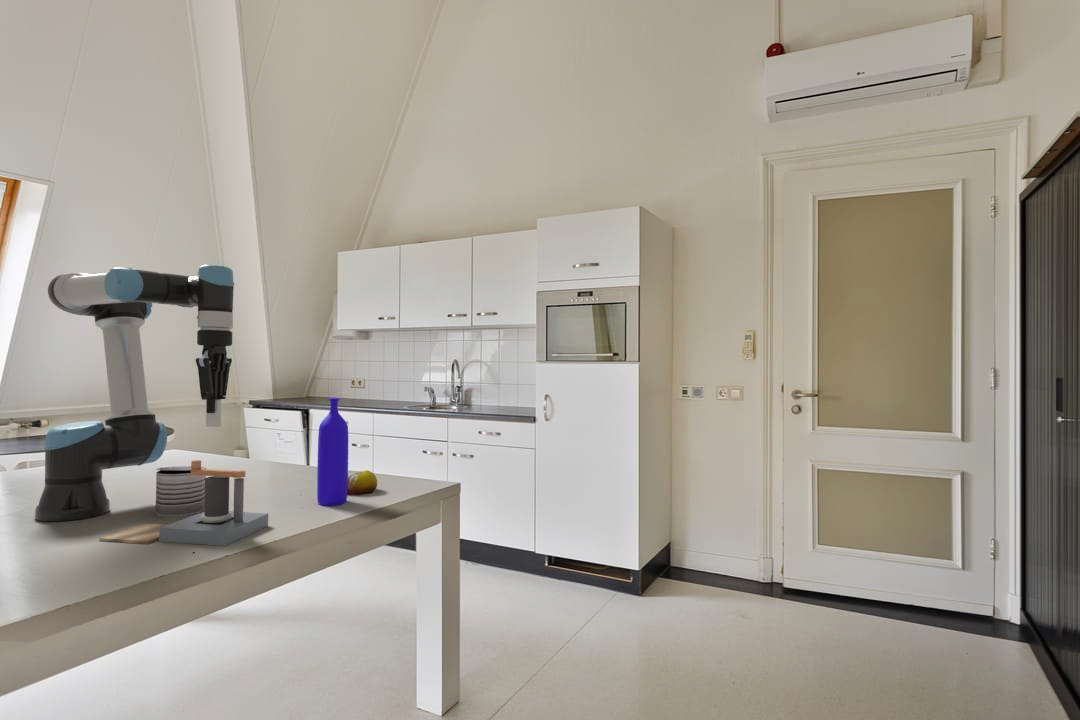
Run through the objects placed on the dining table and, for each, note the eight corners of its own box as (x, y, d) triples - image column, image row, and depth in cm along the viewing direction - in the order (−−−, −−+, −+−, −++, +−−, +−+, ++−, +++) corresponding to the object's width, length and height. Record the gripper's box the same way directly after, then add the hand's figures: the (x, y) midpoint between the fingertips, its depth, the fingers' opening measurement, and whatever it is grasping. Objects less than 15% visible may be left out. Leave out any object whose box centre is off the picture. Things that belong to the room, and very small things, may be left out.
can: (144, 514, 154) (145, 468, 154) (184, 504, 165) (185, 461, 165) (176, 519, 150) (177, 471, 150) (215, 508, 161) (216, 464, 161)
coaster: (99, 540, 132) (99, 537, 132) (142, 525, 144) (142, 523, 144) (148, 543, 130) (148, 541, 130) (187, 528, 142) (187, 526, 142)
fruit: (360, 484, 193) (366, 462, 192) (380, 499, 187) (386, 475, 186) (331, 489, 184) (336, 466, 182) (351, 505, 178) (357, 480, 177)
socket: (159, 541, 132) (160, 483, 132) (208, 522, 148) (209, 470, 148) (225, 545, 130) (226, 486, 130) (268, 525, 146) (269, 472, 146)
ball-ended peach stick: (188, 475, 139) (188, 461, 139) (196, 473, 141) (196, 459, 141) (240, 478, 137) (241, 464, 137) (247, 475, 139) (248, 462, 139)
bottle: (337, 507, 165) (339, 399, 165) (310, 505, 167) (312, 398, 167) (352, 500, 173) (354, 397, 173) (327, 498, 175) (329, 396, 175)
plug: (194, 536, 136) (195, 479, 136) (213, 528, 143) (214, 474, 143) (219, 537, 136) (220, 481, 136) (237, 530, 142) (238, 475, 142)
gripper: (213, 330, 151) (211, 423, 151) (184, 327, 138) (182, 429, 138) (243, 331, 151) (241, 423, 151) (217, 328, 138) (215, 429, 138)
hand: (213, 426), depth 145 cm, fingers closed
